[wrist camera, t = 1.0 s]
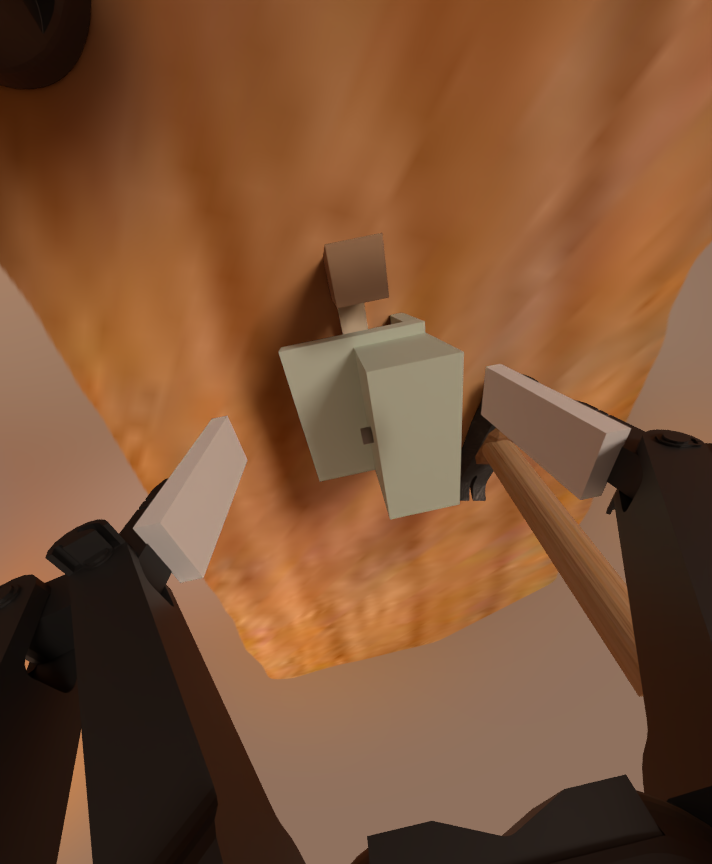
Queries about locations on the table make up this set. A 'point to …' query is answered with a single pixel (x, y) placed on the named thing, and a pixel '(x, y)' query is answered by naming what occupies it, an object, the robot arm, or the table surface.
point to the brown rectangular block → (356, 278)
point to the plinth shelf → (383, 410)
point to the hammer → (554, 537)
